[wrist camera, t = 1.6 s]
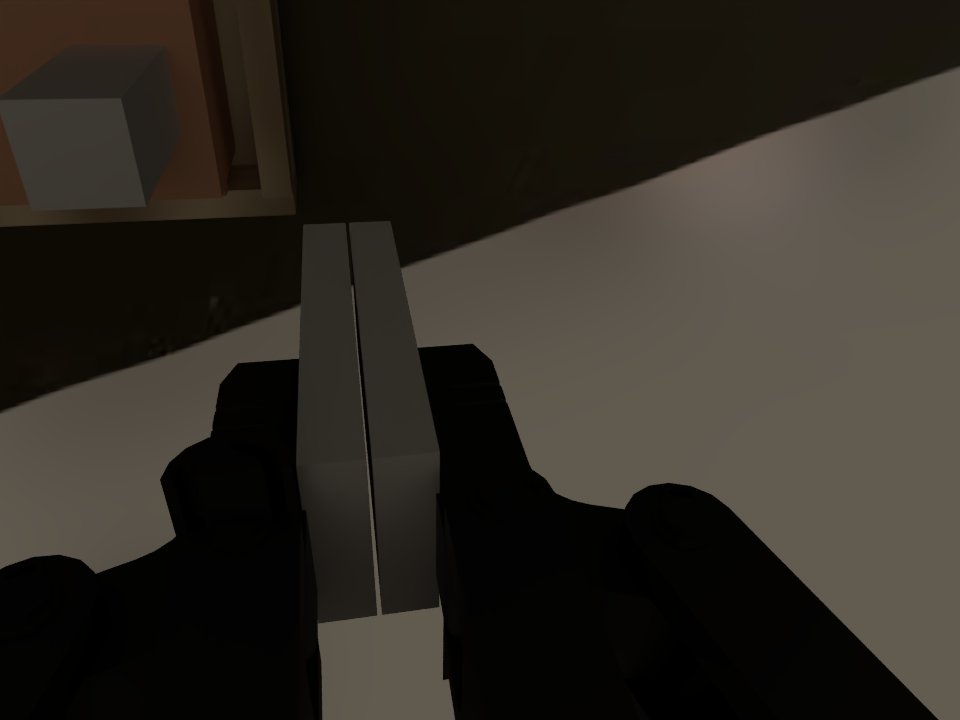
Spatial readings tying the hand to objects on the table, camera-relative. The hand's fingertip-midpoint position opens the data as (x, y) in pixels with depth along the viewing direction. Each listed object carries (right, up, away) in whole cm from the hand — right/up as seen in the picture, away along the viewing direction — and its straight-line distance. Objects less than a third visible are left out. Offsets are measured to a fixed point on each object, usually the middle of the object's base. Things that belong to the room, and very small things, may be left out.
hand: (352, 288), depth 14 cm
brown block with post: (-13, +11, +16) cm, 23 cm away
